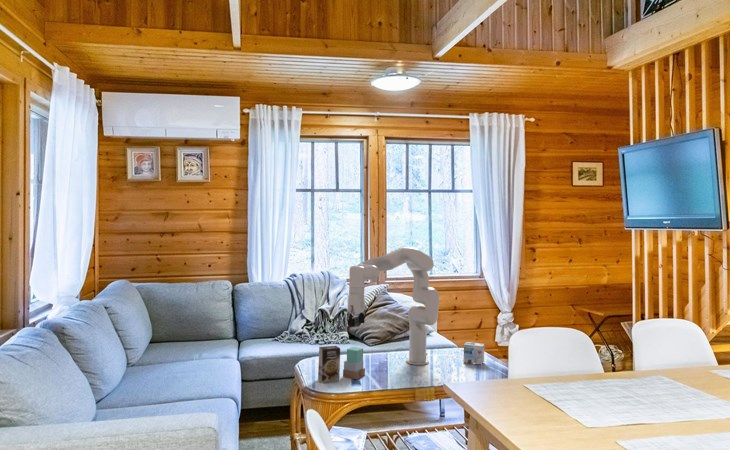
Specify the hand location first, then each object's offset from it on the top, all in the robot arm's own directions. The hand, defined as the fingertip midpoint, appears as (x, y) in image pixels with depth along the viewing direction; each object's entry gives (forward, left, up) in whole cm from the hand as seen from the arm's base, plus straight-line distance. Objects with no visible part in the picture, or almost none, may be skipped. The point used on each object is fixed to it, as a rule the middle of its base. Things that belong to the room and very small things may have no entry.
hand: (356, 324), depth 245 cm
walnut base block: (+1, -1, -26) cm, 26 cm away
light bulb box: (-59, +43, -26) cm, 77 cm away
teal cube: (0, -1, -18) cm, 18 cm away
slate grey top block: (+1, -1, -22) cm, 22 cm away
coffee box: (+13, -7, -26) cm, 30 cm away
